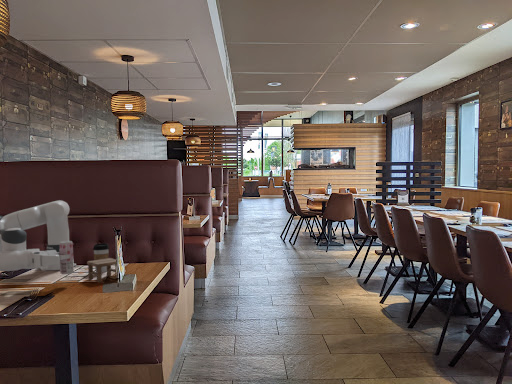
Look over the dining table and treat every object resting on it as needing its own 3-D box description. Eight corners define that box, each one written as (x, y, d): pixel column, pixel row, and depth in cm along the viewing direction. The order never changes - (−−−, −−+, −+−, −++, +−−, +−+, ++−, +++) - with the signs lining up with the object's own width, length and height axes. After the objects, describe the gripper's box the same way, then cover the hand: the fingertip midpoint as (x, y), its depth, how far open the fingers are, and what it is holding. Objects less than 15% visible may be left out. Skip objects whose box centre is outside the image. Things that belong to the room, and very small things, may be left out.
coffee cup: (112, 269, 223) (111, 243, 222) (105, 273, 214) (104, 245, 214) (98, 269, 223) (97, 243, 223) (90, 273, 215) (89, 245, 215)
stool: (87, 279, 201) (87, 261, 201) (110, 274, 210) (109, 257, 210) (98, 282, 193) (97, 264, 193) (121, 278, 202) (120, 260, 201)
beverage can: (72, 271, 193) (71, 240, 192) (74, 273, 188) (74, 241, 188) (59, 273, 189) (58, 241, 189) (61, 275, 185) (60, 243, 184)
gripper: (34, 261, 191) (66, 258, 198) (36, 269, 173) (71, 265, 180) (34, 248, 190) (65, 245, 198) (36, 254, 173) (71, 251, 180)
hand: (68, 255), depth 189 cm, fingers closed on beverage can, 6 cm apart
